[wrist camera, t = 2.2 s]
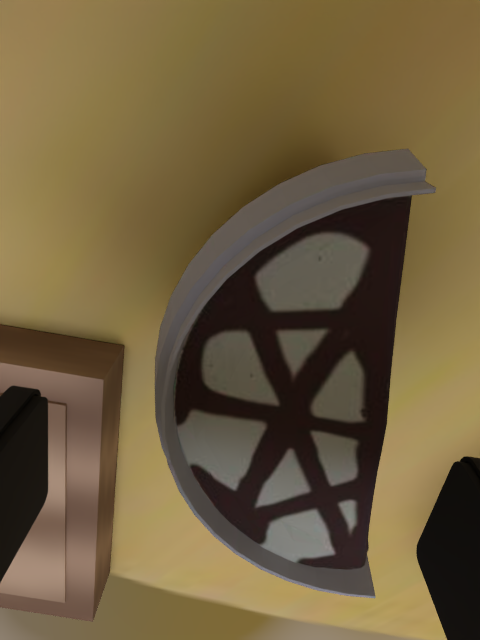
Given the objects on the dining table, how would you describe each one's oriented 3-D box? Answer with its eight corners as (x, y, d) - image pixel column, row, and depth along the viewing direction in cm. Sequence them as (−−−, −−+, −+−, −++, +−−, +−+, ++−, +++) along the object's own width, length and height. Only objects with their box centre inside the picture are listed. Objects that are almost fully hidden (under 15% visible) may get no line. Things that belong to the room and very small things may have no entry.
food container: (185, 137, 17) (97, 164, 8) (347, 133, 17) (441, 156, 8) (203, 405, 23) (162, 603, 13) (329, 406, 22) (373, 610, 13)
